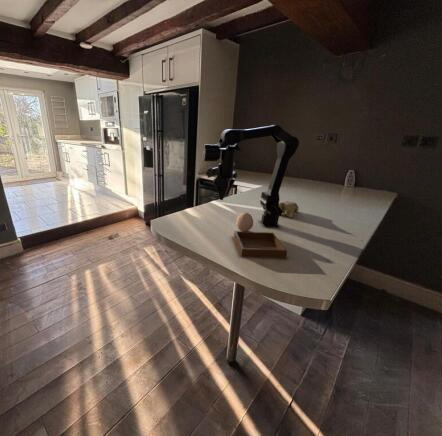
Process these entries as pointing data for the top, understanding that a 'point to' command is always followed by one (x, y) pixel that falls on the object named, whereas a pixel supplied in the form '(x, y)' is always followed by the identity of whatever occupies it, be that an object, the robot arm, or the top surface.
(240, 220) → the egg
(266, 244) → the tray
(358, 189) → the top surface
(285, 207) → the fossil
